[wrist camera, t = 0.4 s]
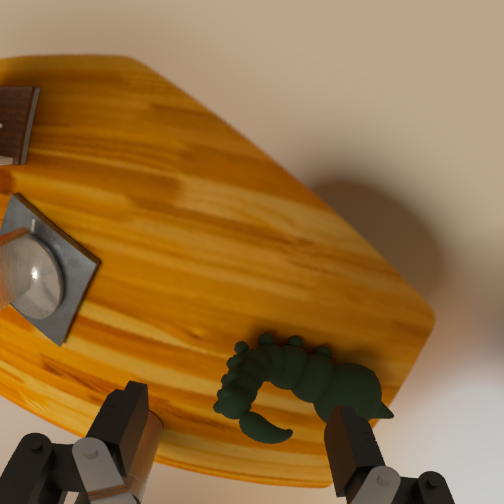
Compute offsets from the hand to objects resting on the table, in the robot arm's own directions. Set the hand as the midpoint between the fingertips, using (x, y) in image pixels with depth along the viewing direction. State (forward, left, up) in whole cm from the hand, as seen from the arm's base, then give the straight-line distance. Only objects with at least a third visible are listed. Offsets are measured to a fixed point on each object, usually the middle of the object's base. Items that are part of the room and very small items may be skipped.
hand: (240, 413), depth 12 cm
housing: (-24, +24, -29) cm, 44 cm away
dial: (-23, +24, -27) cm, 43 cm away
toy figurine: (-10, -18, -29) cm, 35 cm away
